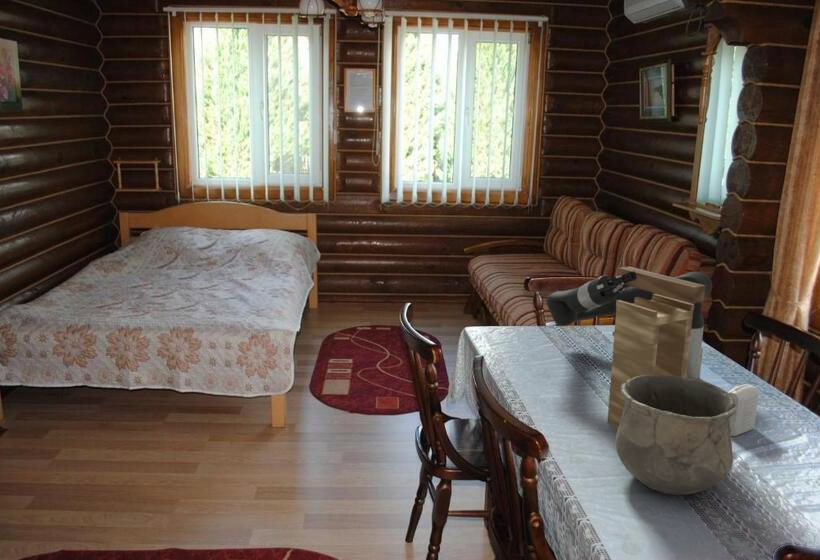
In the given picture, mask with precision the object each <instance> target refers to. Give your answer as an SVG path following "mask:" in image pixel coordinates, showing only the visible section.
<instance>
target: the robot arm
mask: <svg viewBox="0 0 820 560" xmlns="http://www.w3.org/2000/svg"><path fill="white" fill-rule="evenodd" d="M643 270H645V271H648V269H646V268H644V269H643ZM673 278H677V279H681V280H685V281H689V282H693V283H697V284H701V285H705V295H704V300H705V299H707V298H708V297H709V296H710V294H711V292H712V290H713V282H712V280H711V278H710V277H709V276H708V275H707V274H705V273H702V272H701V271H689V272H686V273H684V274H681V275H678V276H675V277H673ZM635 279H636V274H635V271H631V272H629V273H627V274H624V275H619V276H618V275H616V276H615V275H614V276H612V277H611V276H609V275H601V276H598V277H596V278H594V279H593V280H590V281H587V282H586V283H584V284H583V285H581V286H579V287H577V288H571V289H568V290H559V291H555V292H552V293H550V294H549V295H547V298H546V301H545V304H546V306H547V309H548V310H549V312H550V314H551V318H552V320H553V321H554V323H555V324H556V325H557V326H558V327H559V326H560V327H566V326H569V325H571V324H572V323H574V322H579V321H584V320H589V319H594V318H598V317H605V316H611V315H616V307H617V306H616V301H617V300H622V301H625V302H628V303H634V302H635V297H641V298H644V299H648V300H652V296H653V294H656V293H653V292H649V291H646V290H642V289H639V288H635V287H632V286H628V285H624V284H625V283H628V282H630V281H632V280H635ZM659 295H660V294H659ZM662 296H663V295H662ZM666 297H667V296H666ZM670 298H671V297H670ZM673 299H674V298H673ZM677 300H678V299H677ZM680 301H681V300H680ZM684 302H685V301H684ZM691 304H692V303H691ZM702 304H703V302H699V303H694V310H693V317H692V326H691V336H690V345H689V355H688V364H687V374H686V378H690V379H697V380H699V379H700V378H701V369H702V360H703V351H704V350H703V348H702V344H703V335H704V328H705V327H704V325H705V318H704V316H703V315H702Z"/></svg>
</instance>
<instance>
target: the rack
mask: <svg viewBox="0 0 820 560" xmlns="http://www.w3.org/2000/svg"><path fill="white" fill-rule="evenodd" d="M616 306H617V307H616V314H615V321H614V322H615V323H614V332H615V333H614V336H613V347H612V360H611V372H610V373H611V375H610V385H609V395H608V397H609V399H608V412H607V423H608V424H609V423H610V425H611V424H612V425H611V426H613V425H614V426H613V427H615V428H617V429H618V427H619V424H620V421H621V418H622V414H623V411H624V407H625V398H624V396H623V395H622V394H621V385H622V384H623V383H626V382H627V380H630V379H633V378H634V377H637V376H642V375H672V376H680V377H682V378H683V380H684V379H685V378H686V374H687V364H688V355H689V345H690V336H691V326H692V317H693V310H694V304H691V303H688V302H684V301H680V300H677V299H673V298H670V297H666V296H662V295H659V294H653V296H652V300H648V299H644V298H641V297H635V302H634V303H628V302H625V301H622V300H617V301H616Z"/></svg>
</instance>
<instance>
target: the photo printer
mask: <svg viewBox="0 0 820 560" xmlns="http://www.w3.org/2000/svg"><path fill="white" fill-rule="evenodd" d="M727 393H728V394H730V395H731V396H733V397H734V399H735V405H736V406H735V407H734V408H732V409H736V410H737V412H736V414H735V415H733V416H731V417H730V426H731V437H736V436H740V435H742V434H744V433H747V432H748V431H749V432H750V431H752V430H753V429H754V428H755V424H756V417H757V416H756V415H757V410H758V409H757V408H758V402H759V396H760V395H759V394H760V393H759V390H758V388H757V387H756V386H755V385H751V384H748V383H746V384H740V385H737V386H734V387H733V388H732V389H730V390H729V391H728V392H727Z"/></svg>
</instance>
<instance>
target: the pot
mask: <svg viewBox="0 0 820 560" xmlns="http://www.w3.org/2000/svg"><path fill="white" fill-rule="evenodd" d="M621 394H622V395H623V396H624V398H625V407H624V411H623V414H622V418H621V421H620V424H619V427H618V428H617V431H616V434H615V447H616V448H615V450H616V453H617V456H618V458H619V460H620V461H621V463H622V465H623V466H624V468H625V469H626V470H627V471H628V473H629V474H630V475H632V476H633V477H634V478H635V479H637V480H638V481H639V482H641V483H642V484H643V485H645V486H647V487H648V488H650V489H652V490H655V491H657V492H660V493H663V494H667V495H677V496H679V495H680V496H681V495H682V496H684V495H691V494H696V493H699V492H702V491H706V490H709V489H711V488H713V487H715V486H717V485H718V484H719V483H721V482H723V481H724V480H725V479H726V478H727V477H728V475H729V474H730V472H731V470H732V469H733V462H734V455H733V442H732V436H731V426H730V417H731V416H733V415H735V414H736V412H737V410H736V409H732V408H734V407H735V406H736V405H735V399H734V397H733V396H731V395H730V394H728V392H727V391H726V390H724V389H723V388H721V387H719V386H717V385H715V384H712V383H710V382H708V381H704V380H700V379H698V380H697V379H690V378H685V379H684V380H683V378H682V377H680V376H672V375H642V376H637V377H634V378H633V379H630V380H627V382H626V383H623V384H622V385H621Z"/></svg>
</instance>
